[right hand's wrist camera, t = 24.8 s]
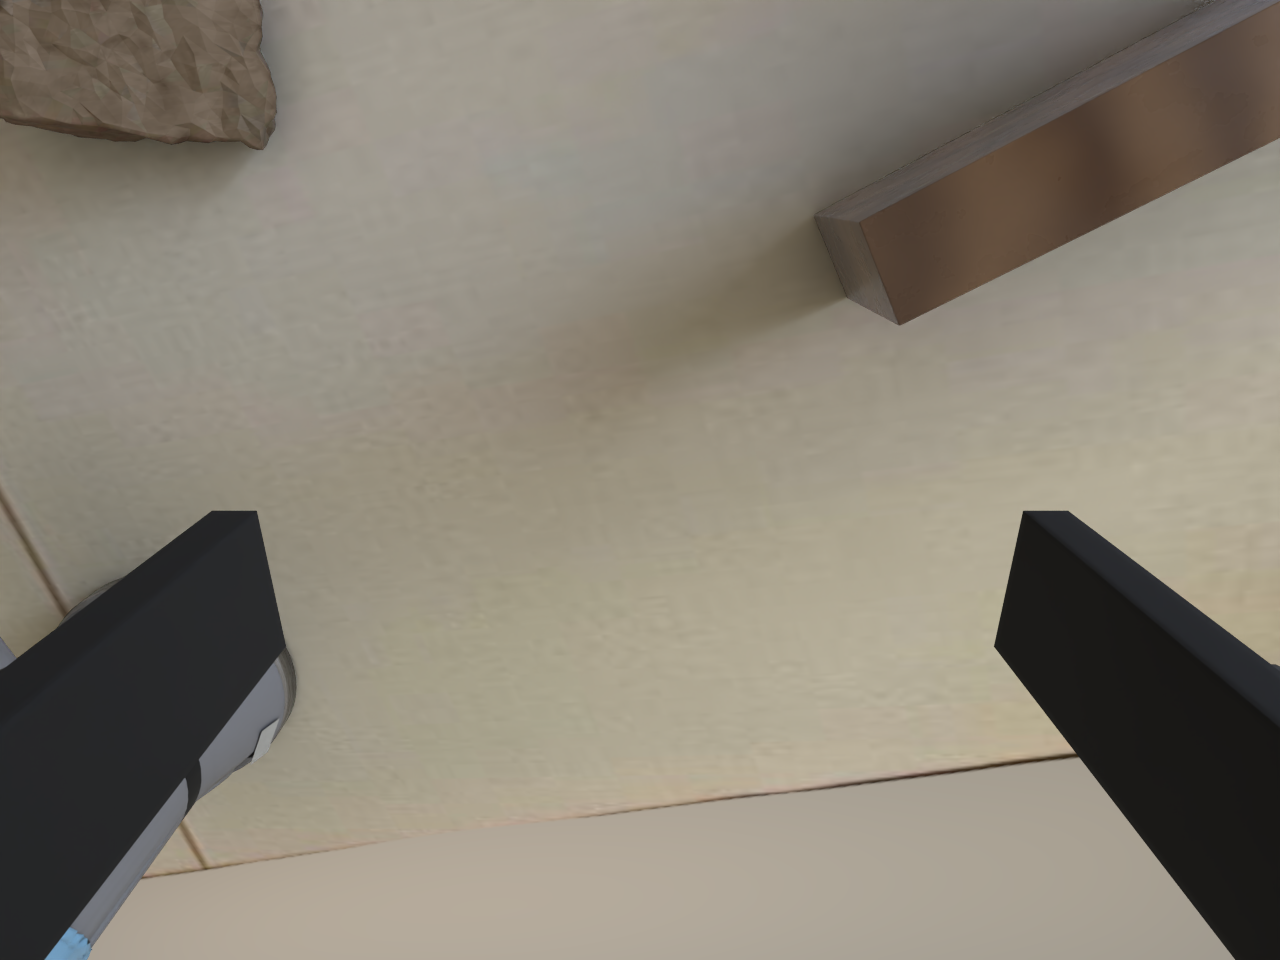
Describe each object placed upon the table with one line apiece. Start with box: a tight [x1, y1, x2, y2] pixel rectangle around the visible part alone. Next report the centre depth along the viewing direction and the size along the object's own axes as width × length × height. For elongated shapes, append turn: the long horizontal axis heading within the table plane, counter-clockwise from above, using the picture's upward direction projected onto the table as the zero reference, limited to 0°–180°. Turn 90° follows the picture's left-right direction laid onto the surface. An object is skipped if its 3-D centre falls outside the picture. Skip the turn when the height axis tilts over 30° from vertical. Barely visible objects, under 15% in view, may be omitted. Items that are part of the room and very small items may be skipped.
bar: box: [814, 0, 1280, 325], centre depth 34 cm, size 26×5×9 cm, turn 118°
